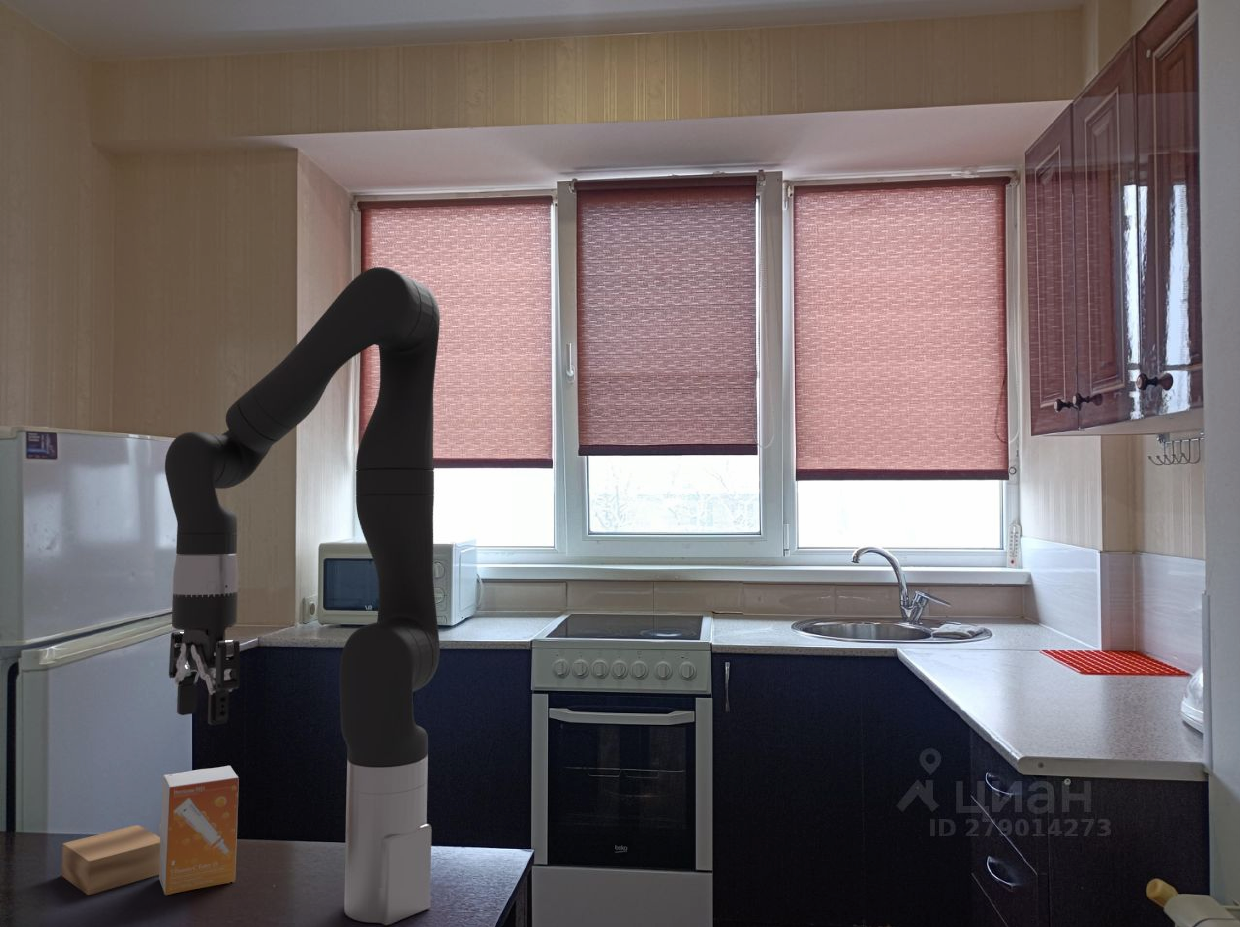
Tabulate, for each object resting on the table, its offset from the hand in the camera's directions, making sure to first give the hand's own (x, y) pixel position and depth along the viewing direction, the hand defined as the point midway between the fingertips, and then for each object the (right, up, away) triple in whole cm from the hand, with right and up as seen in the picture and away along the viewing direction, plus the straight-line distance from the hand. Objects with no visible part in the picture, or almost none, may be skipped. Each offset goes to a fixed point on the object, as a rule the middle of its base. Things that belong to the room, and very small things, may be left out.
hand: (201, 718), depth 113 cm
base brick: (-12, -20, +1) cm, 23 cm away
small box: (0, -20, -1) cm, 20 cm away
